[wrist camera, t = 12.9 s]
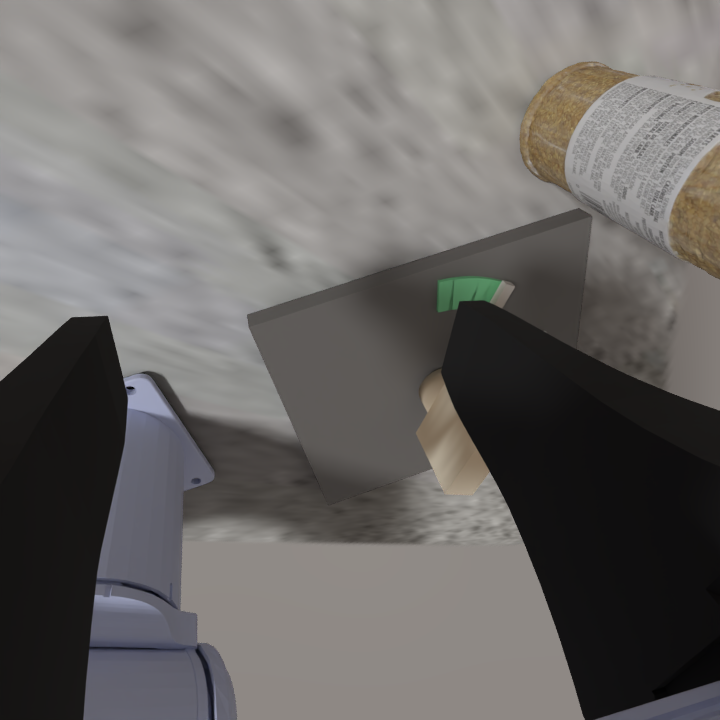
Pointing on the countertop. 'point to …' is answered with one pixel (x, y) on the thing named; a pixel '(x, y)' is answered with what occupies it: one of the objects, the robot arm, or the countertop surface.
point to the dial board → (405, 344)
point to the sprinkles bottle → (633, 154)
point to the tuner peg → (452, 430)
